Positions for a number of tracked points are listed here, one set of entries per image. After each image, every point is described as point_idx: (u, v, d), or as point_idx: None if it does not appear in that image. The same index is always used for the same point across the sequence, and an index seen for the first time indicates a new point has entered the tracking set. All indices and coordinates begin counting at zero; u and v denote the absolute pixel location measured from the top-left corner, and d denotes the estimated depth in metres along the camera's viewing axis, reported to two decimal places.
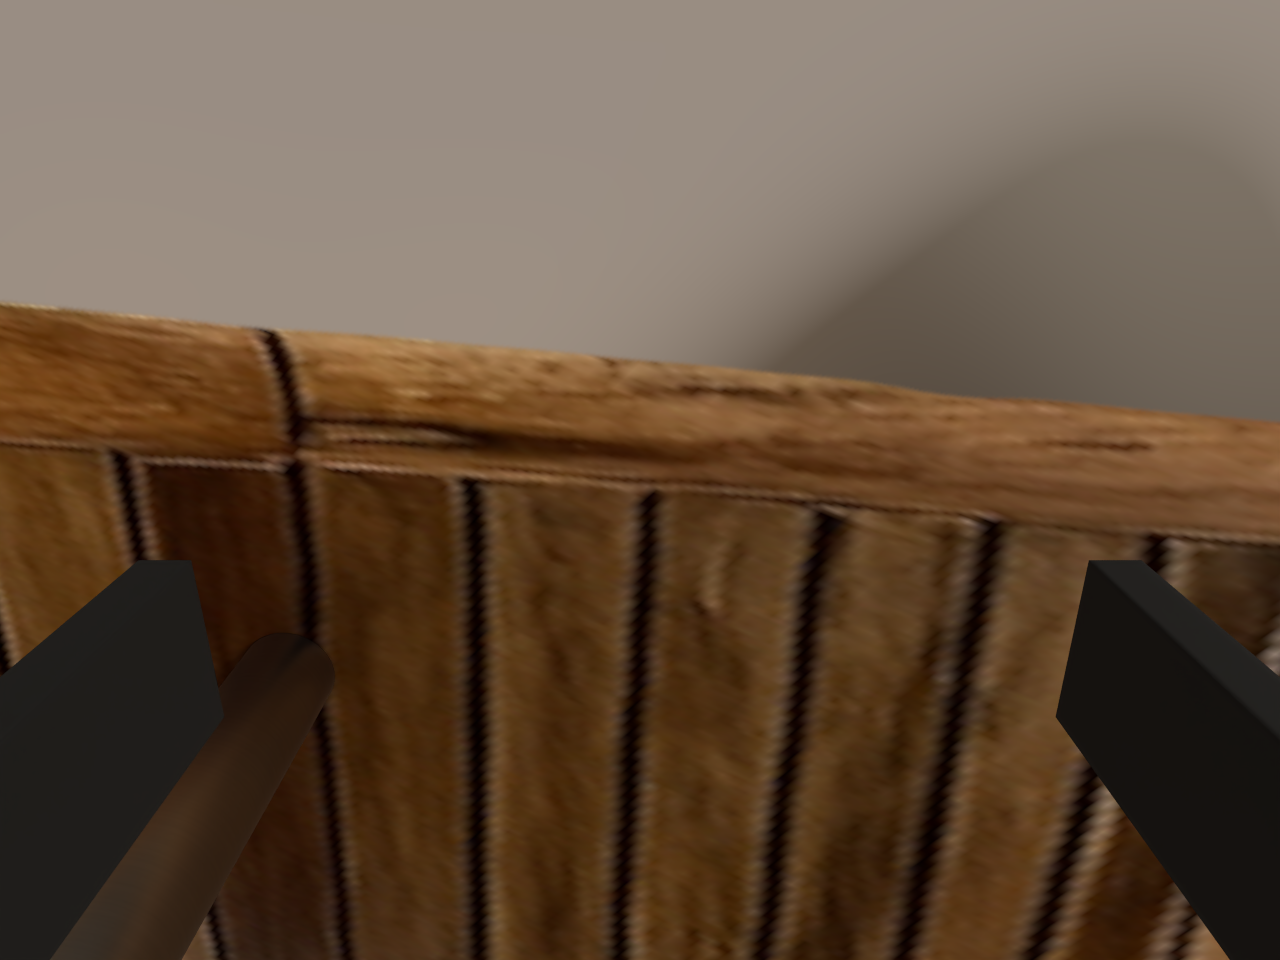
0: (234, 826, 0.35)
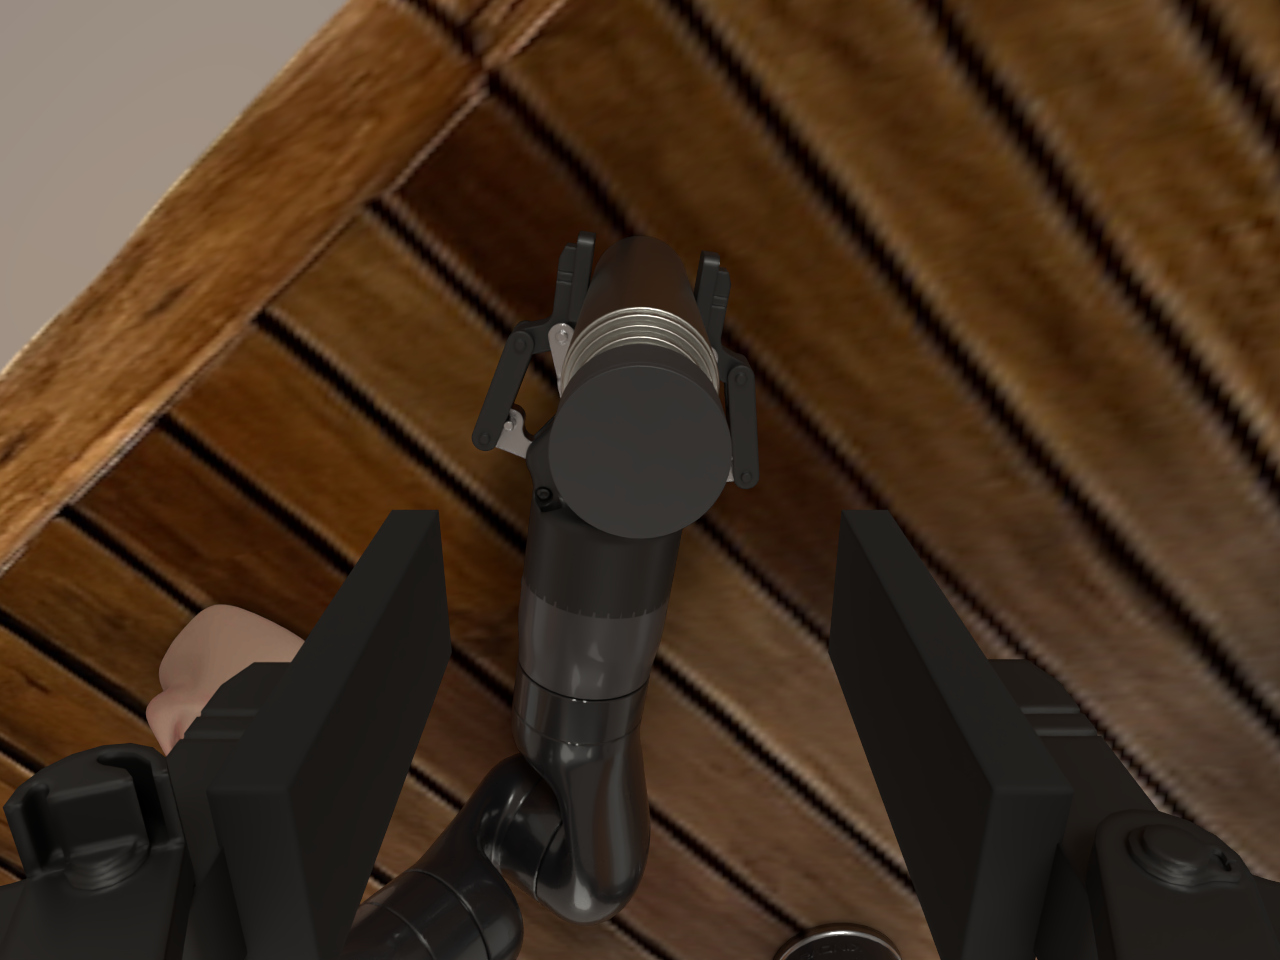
0: (671, 277, 0.33)
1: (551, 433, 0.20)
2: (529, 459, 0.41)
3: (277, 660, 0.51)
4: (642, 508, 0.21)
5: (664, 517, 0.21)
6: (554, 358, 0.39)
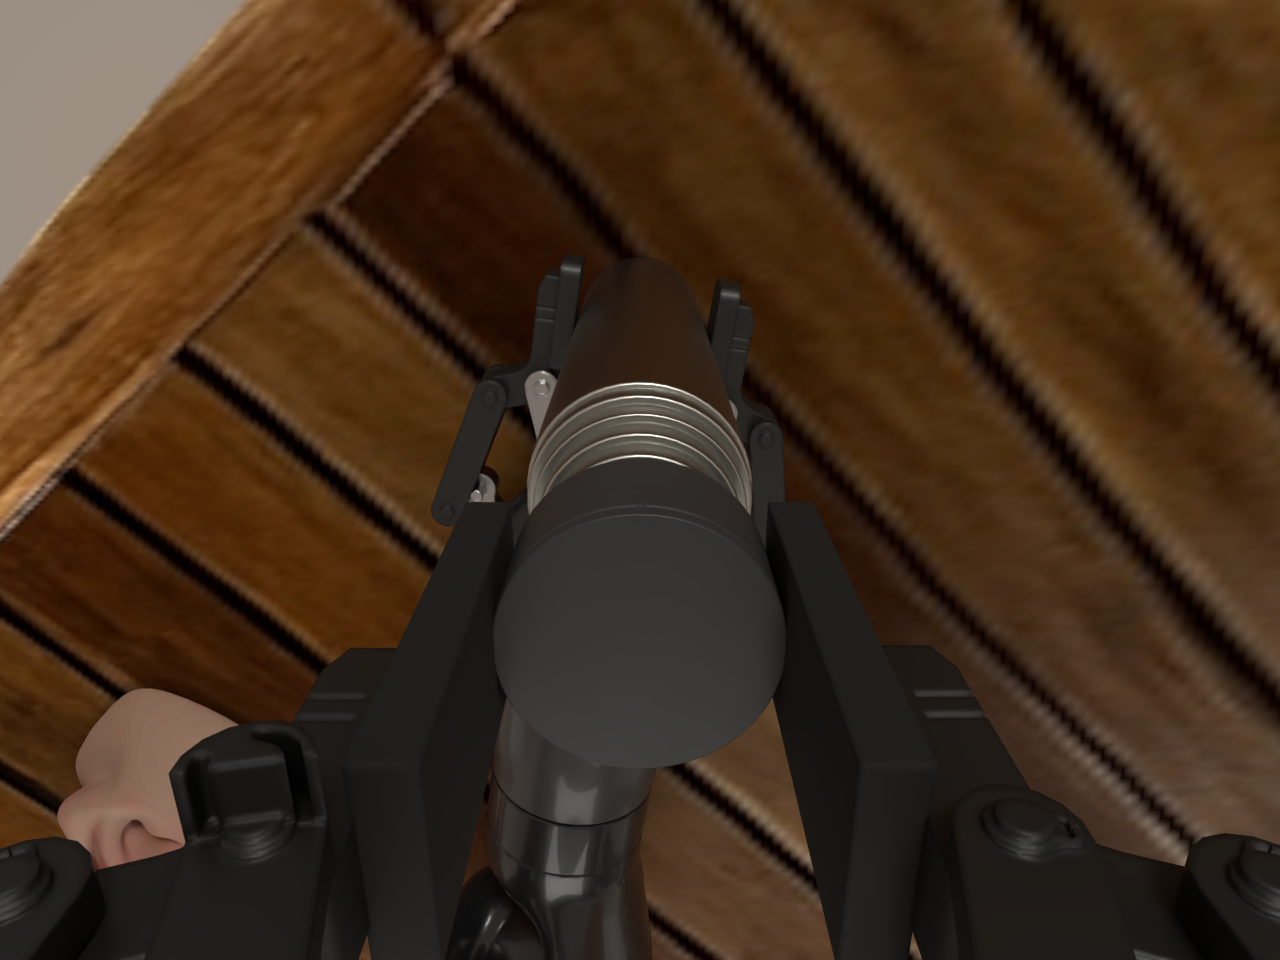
0: (680, 320, 0.25)
1: (495, 617, 0.12)
2: None
3: None
4: (643, 726, 0.13)
5: (678, 739, 0.13)
6: (532, 414, 0.31)
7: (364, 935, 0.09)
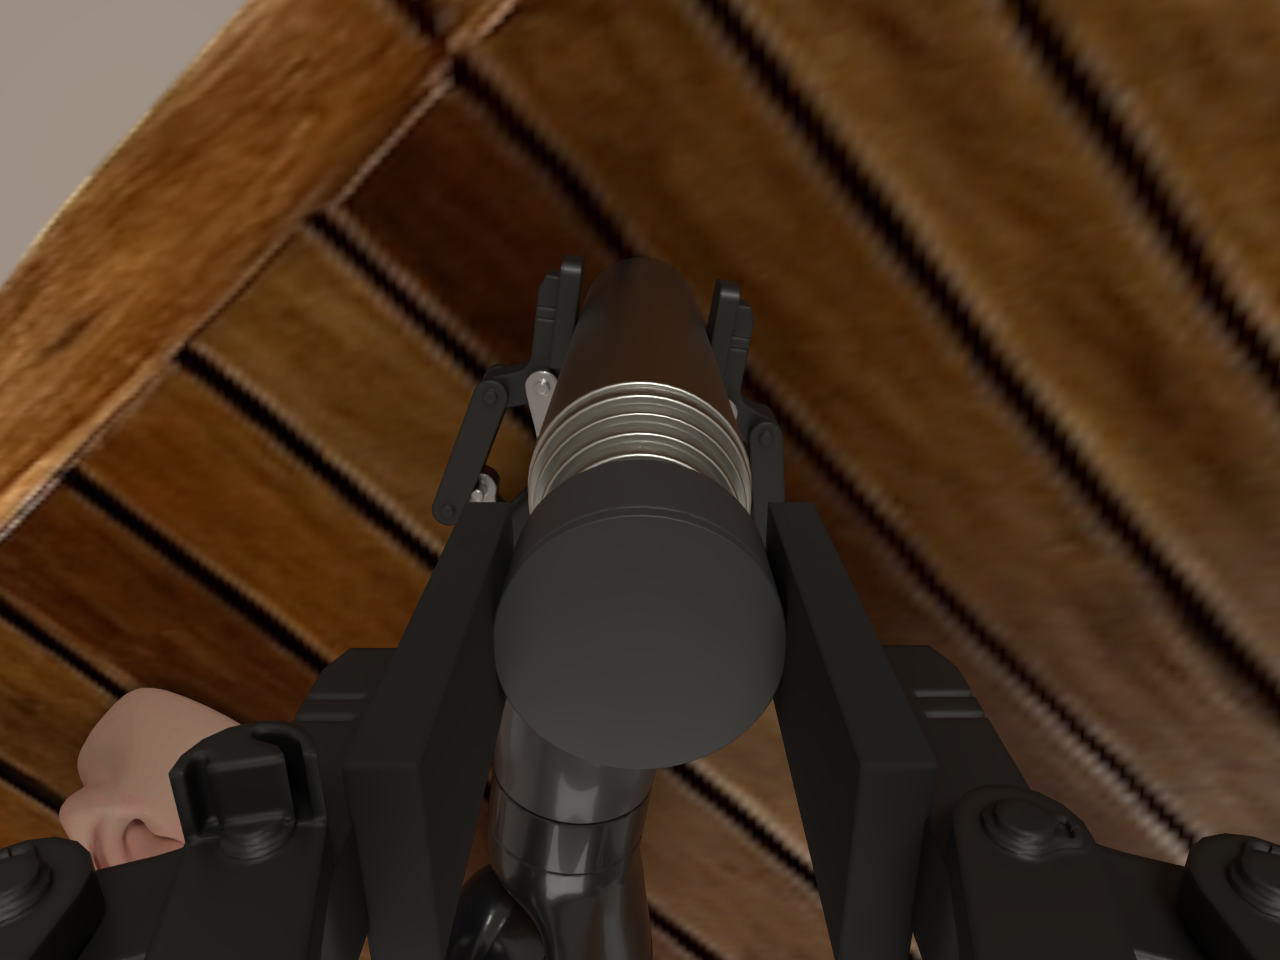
0: (680, 320, 0.25)
1: None
2: None
3: None
4: (732, 641, 0.13)
5: (747, 608, 0.12)
6: (533, 413, 0.31)
7: (364, 935, 0.09)
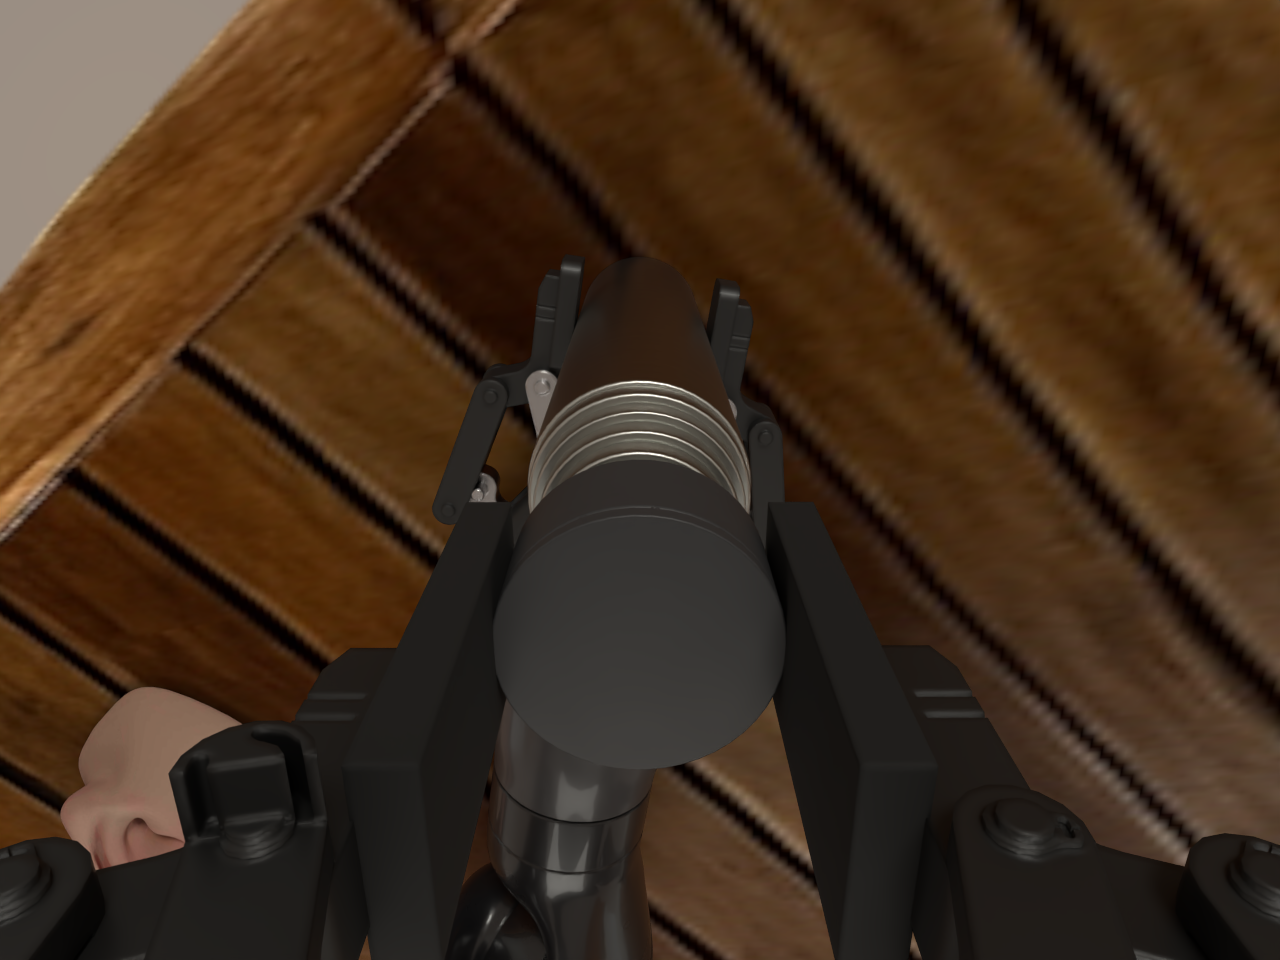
0: (680, 320, 0.25)
1: (783, 665, 0.13)
2: None
3: None
4: (620, 569, 0.12)
5: (580, 559, 0.12)
6: (533, 413, 0.31)
7: (364, 935, 0.09)
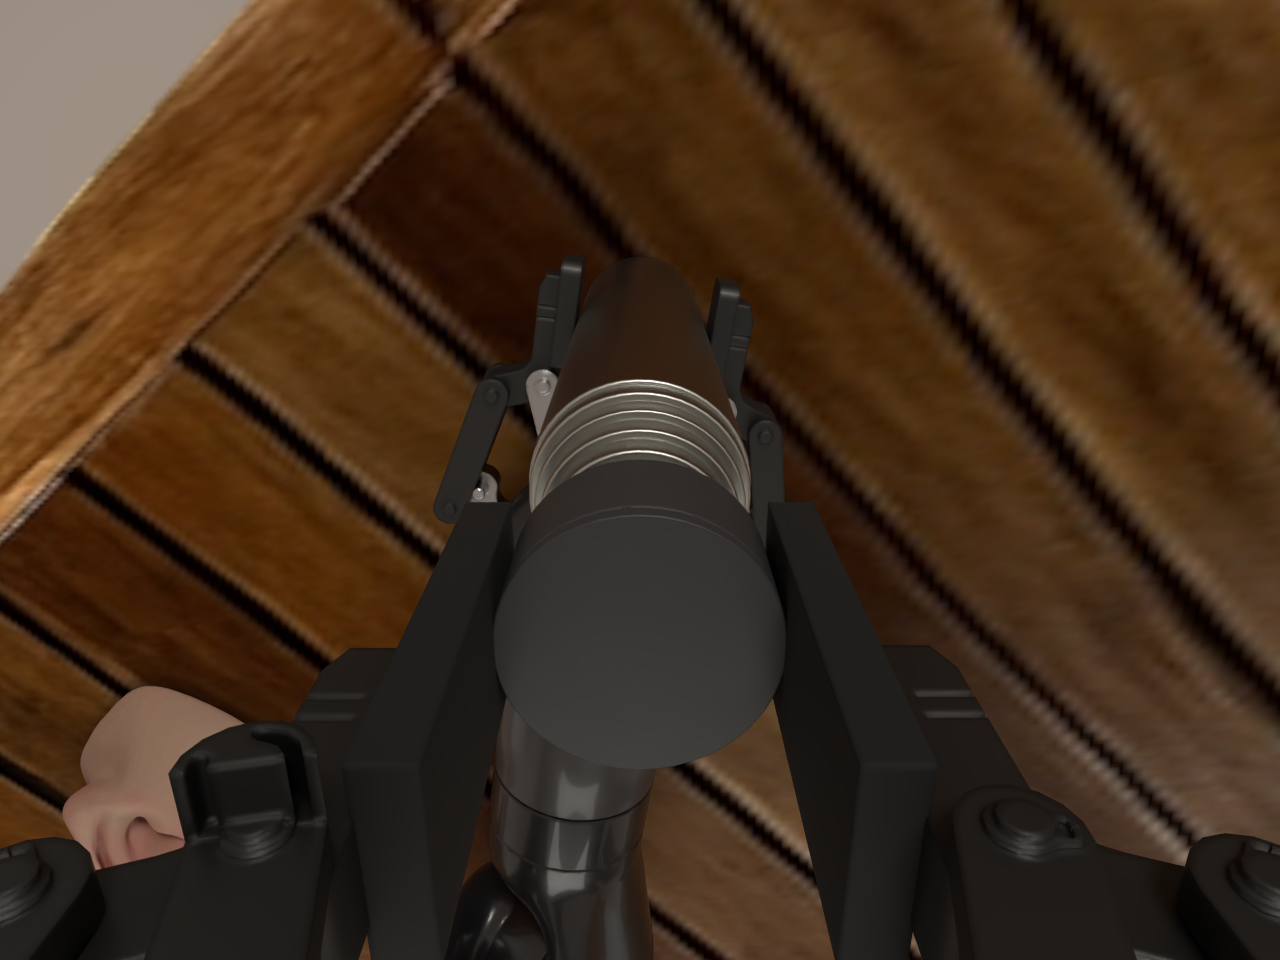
0: (680, 319, 0.25)
1: (645, 517, 0.12)
2: None
3: None
4: (551, 671, 0.13)
5: (545, 703, 0.13)
6: (534, 412, 0.31)
7: (364, 935, 0.09)
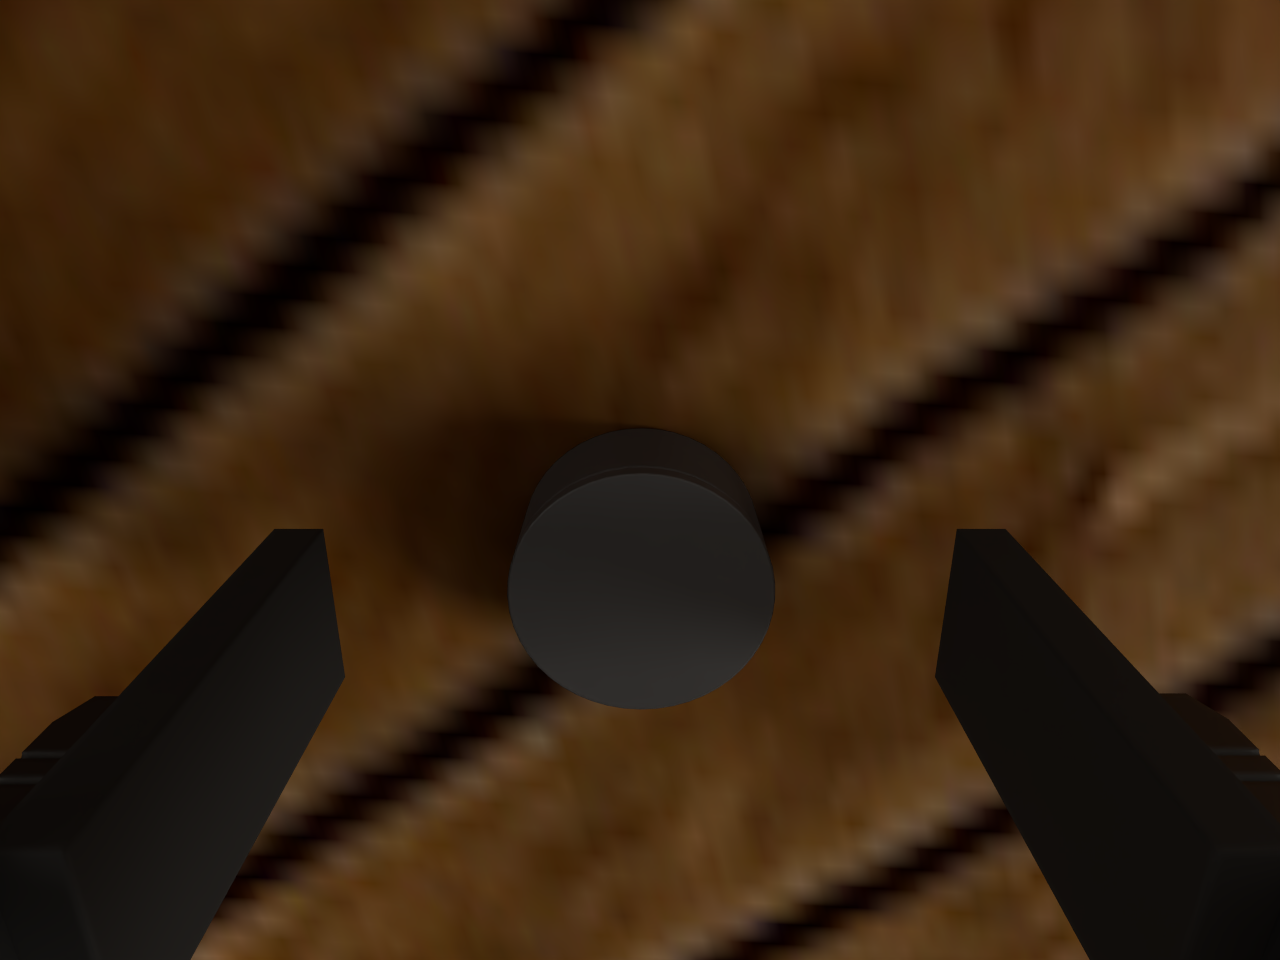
0: None
1: (646, 475, 0.13)
2: None
3: None
4: (560, 617, 0.14)
5: (555, 648, 0.14)
6: None
7: None
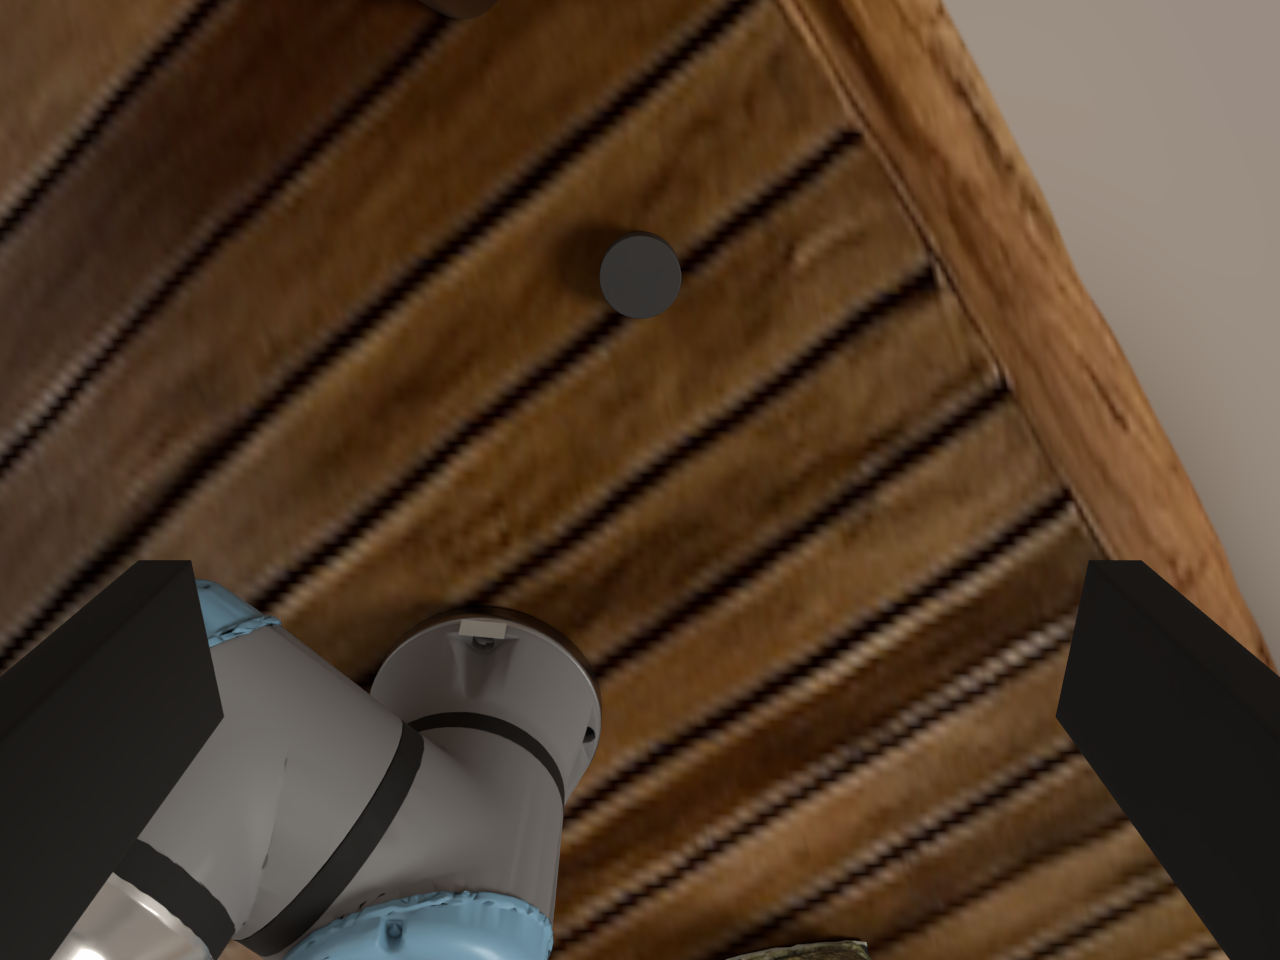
0: None
1: (641, 236, 0.45)
2: None
3: None
4: (615, 284, 0.46)
5: (613, 295, 0.46)
6: None
7: None
